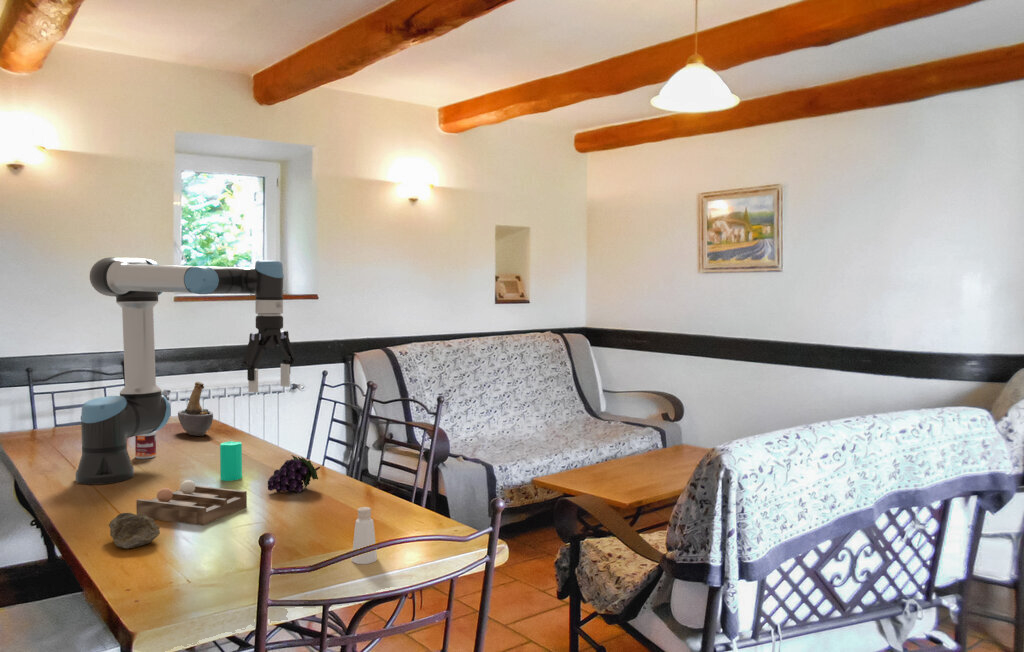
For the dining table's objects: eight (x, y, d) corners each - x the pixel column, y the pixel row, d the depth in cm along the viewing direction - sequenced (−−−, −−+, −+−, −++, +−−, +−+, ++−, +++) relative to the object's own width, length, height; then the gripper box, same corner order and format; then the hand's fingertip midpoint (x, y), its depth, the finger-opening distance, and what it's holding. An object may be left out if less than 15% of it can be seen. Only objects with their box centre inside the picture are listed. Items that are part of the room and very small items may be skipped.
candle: (234, 481, 224) (234, 440, 224) (216, 480, 225) (215, 439, 225) (246, 476, 230) (245, 436, 229) (227, 475, 231) (227, 435, 231)
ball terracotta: (153, 503, 191) (153, 489, 191) (164, 499, 194) (164, 485, 194) (165, 505, 190) (165, 490, 189) (176, 501, 193) (175, 487, 193)
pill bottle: (134, 459, 250) (134, 426, 249) (135, 455, 256) (135, 422, 255) (155, 458, 252) (155, 424, 252) (156, 454, 258) (156, 421, 257)
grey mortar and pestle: (209, 438, 284) (209, 384, 283) (164, 438, 284) (163, 384, 283) (225, 431, 299) (224, 379, 298) (182, 430, 299) (181, 379, 298)
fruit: (268, 501, 215) (317, 480, 224) (280, 504, 206) (331, 482, 215) (256, 467, 214) (306, 447, 223) (268, 468, 206) (320, 447, 214)
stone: (98, 531, 173) (121, 500, 176) (128, 547, 177) (150, 516, 180) (114, 547, 163) (139, 513, 166) (145, 563, 168) (169, 530, 171)
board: (136, 516, 190) (136, 499, 190) (183, 499, 205) (183, 484, 205) (203, 525, 184) (203, 508, 183) (246, 507, 199) (246, 491, 198)
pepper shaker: (346, 562, 161) (346, 510, 160) (360, 554, 166) (360, 503, 165) (368, 566, 159) (368, 513, 158) (382, 557, 164) (382, 506, 163)
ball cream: (177, 495, 198) (177, 481, 198) (187, 491, 202) (187, 478, 202) (188, 496, 197) (188, 482, 197) (198, 493, 201) (198, 479, 200)
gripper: (249, 317, 207) (249, 395, 208) (307, 313, 230) (307, 384, 231) (227, 316, 209) (228, 393, 211) (287, 313, 233) (287, 383, 234)
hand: (269, 389), depth 221 cm, fingers open, 13 cm apart
